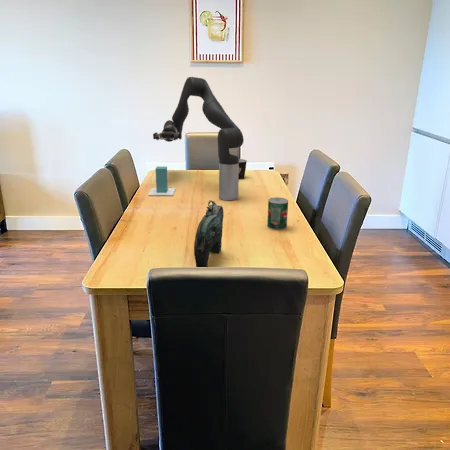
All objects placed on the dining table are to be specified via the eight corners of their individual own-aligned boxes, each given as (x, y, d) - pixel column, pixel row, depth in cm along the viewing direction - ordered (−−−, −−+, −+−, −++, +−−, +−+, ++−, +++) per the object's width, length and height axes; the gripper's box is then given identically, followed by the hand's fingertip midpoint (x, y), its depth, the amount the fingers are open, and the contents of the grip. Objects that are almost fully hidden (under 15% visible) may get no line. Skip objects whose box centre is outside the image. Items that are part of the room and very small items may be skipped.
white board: (175, 189, 229) (175, 188, 228) (173, 196, 217) (173, 194, 217) (152, 189, 229) (152, 187, 228) (148, 196, 217) (148, 194, 217)
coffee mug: (249, 177, 254) (249, 160, 250) (241, 180, 247) (241, 162, 243) (231, 174, 260) (231, 157, 256) (223, 177, 253) (223, 160, 249)
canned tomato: (289, 229, 176) (291, 202, 172) (270, 230, 175) (271, 203, 171) (283, 222, 184) (285, 197, 180) (265, 223, 182) (266, 197, 179)
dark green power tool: (210, 247, 159) (210, 193, 152) (227, 249, 157) (228, 194, 150) (190, 270, 141) (189, 210, 134) (210, 273, 139) (209, 212, 132)
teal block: (167, 189, 225) (166, 166, 221) (166, 192, 220) (165, 168, 216) (157, 189, 225) (156, 166, 221) (156, 192, 220) (155, 168, 216)
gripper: (155, 125, 234) (151, 130, 219) (183, 126, 235) (180, 130, 219) (156, 140, 237) (152, 145, 222) (183, 140, 237) (180, 145, 222)
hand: (166, 138), depth 221 cm, fingers open, 8 cm apart
